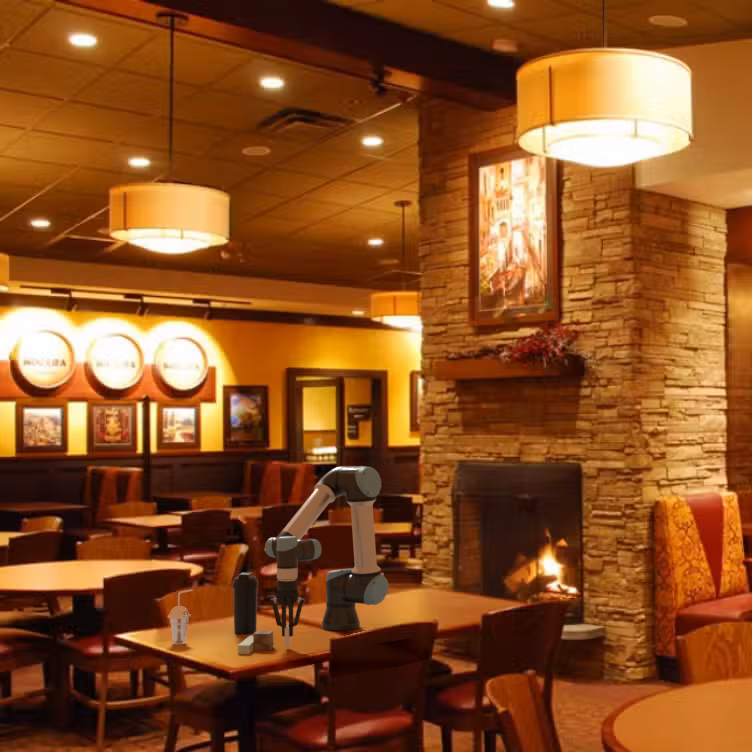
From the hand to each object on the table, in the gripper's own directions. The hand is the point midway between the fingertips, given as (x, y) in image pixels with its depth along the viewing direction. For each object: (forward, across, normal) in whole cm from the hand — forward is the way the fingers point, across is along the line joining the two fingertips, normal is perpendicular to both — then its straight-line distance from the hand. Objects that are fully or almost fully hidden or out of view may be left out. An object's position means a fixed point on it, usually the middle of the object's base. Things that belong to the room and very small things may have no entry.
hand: (287, 645), depth 403 cm
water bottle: (+2, +23, -31) cm, 39 cm away
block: (+1, +9, 0) cm, 9 cm away
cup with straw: (+1, +42, -7) cm, 43 cm away
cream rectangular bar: (+1, +14, 0) cm, 14 cm away
